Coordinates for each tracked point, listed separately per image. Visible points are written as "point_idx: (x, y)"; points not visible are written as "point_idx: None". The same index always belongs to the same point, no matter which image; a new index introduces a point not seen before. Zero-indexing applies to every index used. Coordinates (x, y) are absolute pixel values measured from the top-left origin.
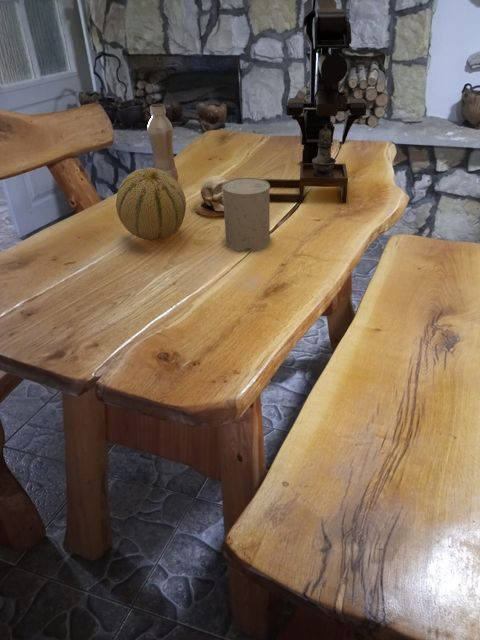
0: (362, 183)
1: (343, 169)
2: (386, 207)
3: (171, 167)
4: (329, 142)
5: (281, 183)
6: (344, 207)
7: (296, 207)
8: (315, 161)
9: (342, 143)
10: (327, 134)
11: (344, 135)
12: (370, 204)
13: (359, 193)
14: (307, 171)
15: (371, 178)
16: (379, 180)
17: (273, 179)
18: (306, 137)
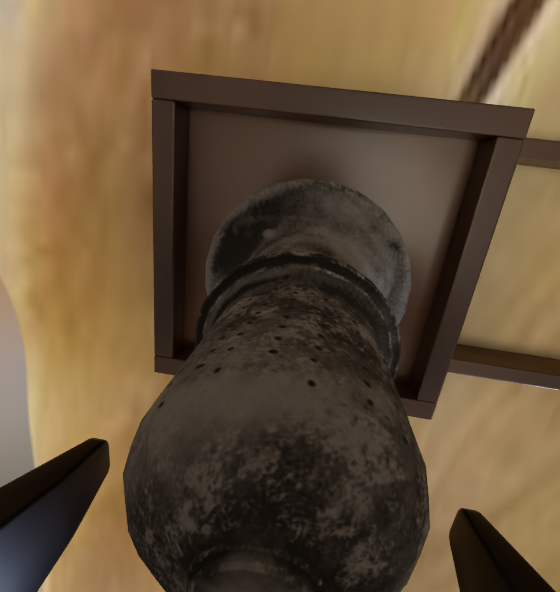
0: (124, 351)
1: (172, 269)
2: (25, 38)
3: None
4: (230, 307)
5: (497, 359)
6: (226, 49)
7: (487, 62)
8: (389, 257)
9: (98, 444)
10: (242, 357)
11: (13, 504)
12: (98, 88)
13: (142, 240)
14: None
15: (89, 395)
16: (60, 372)
17: (546, 382)
18: (492, 586)
